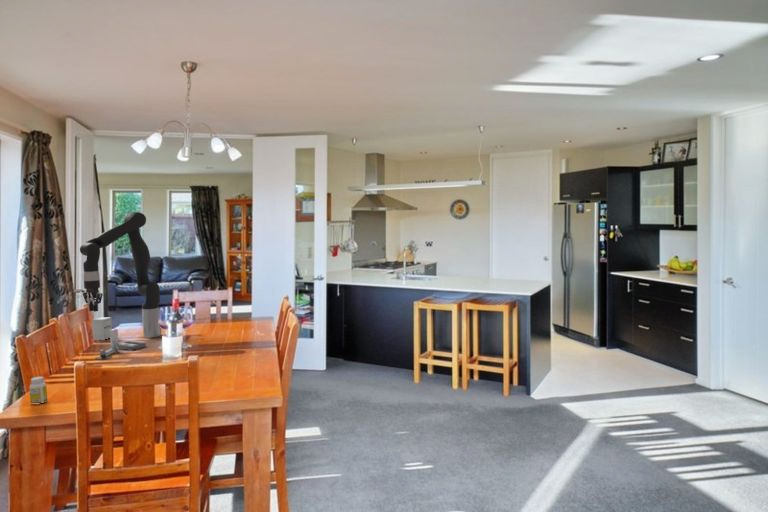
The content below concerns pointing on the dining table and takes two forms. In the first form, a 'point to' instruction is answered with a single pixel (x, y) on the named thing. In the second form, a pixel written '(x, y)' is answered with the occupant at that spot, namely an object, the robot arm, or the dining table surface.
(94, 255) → the robot arm
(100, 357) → the hinge foot
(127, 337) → the dining table surface
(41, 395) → the supplement bottle
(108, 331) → the supplement box
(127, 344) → the server lid
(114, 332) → the cable arm
